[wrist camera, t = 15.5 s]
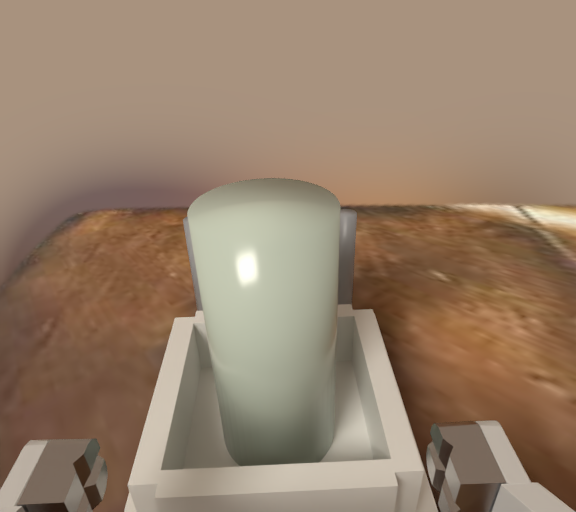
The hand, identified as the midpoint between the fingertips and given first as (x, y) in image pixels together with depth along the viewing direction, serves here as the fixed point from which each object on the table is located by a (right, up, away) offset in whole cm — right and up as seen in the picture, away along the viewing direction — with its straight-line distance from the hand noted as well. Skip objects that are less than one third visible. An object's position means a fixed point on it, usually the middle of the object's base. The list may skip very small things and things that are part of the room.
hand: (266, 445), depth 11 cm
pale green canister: (0, -3, +10) cm, 10 cm away
